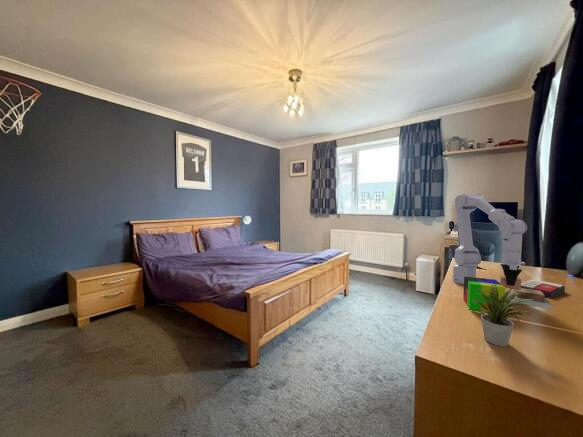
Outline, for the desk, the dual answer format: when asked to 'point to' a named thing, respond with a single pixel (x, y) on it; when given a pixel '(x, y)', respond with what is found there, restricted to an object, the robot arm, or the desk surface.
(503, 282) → the terracotta brick
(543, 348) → the desk surface
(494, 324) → the house plant
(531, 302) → the baseplate
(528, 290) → the walnut base brick
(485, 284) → the puzzle toy
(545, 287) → the calculator
